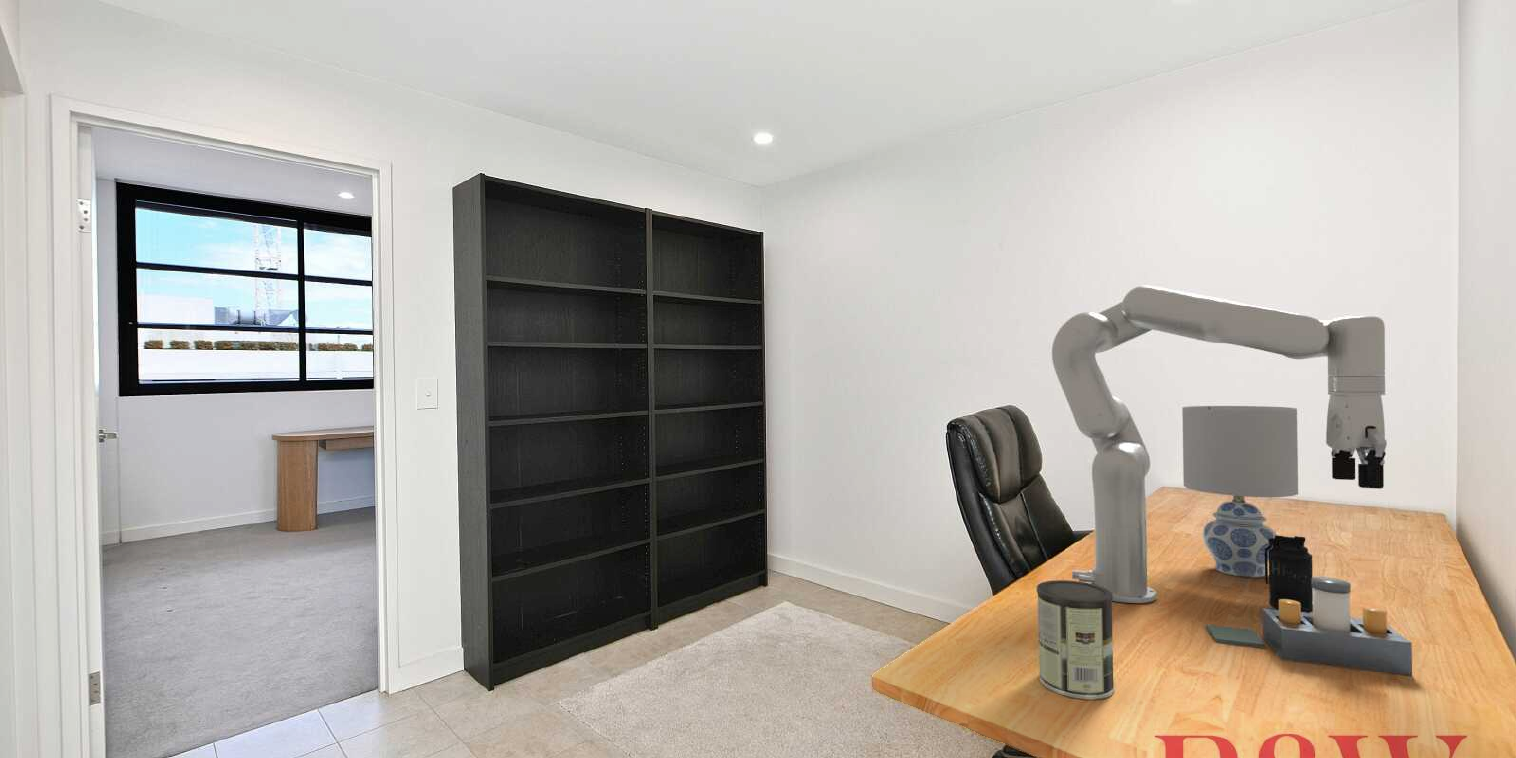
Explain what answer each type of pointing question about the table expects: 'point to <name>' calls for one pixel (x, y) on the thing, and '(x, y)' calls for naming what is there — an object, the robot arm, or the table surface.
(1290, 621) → the plunger left
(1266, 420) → the lamp
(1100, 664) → the coffee can
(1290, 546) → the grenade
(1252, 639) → the mat
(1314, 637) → the housing
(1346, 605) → the ball
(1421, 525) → the table surface
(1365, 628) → the plunger right
